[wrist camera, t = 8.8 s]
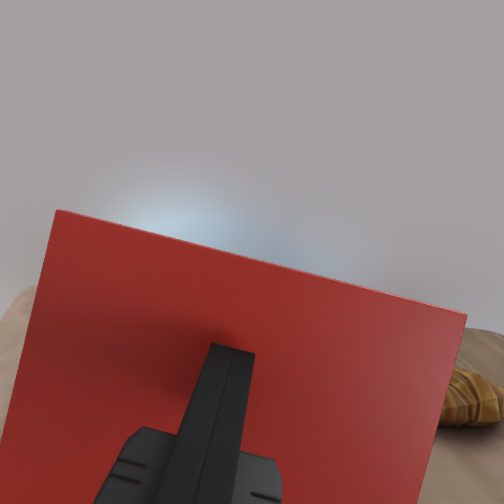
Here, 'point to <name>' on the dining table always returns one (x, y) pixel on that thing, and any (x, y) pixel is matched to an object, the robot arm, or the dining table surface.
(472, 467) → the dining table surface
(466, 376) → the croissant
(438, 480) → the dining table surface
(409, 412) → the lid
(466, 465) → the dining table surface
